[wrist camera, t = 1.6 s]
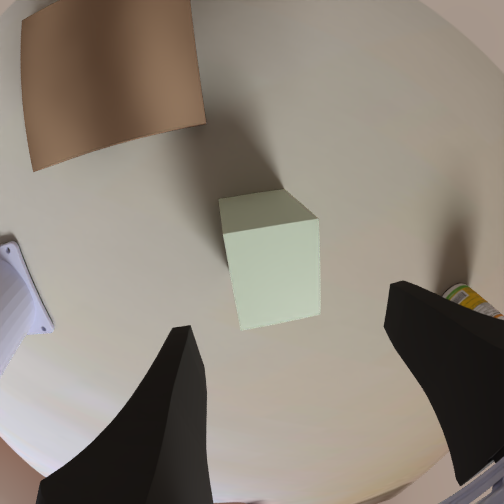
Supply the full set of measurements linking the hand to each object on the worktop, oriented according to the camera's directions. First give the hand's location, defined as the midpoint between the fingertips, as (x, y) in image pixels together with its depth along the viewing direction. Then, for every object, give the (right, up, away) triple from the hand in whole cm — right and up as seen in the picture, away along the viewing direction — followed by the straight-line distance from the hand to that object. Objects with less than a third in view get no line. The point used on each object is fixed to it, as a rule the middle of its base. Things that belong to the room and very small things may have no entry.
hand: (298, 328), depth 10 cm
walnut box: (-10, +14, +3) cm, 17 cm away
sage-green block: (-1, +4, +9) cm, 10 cm away
